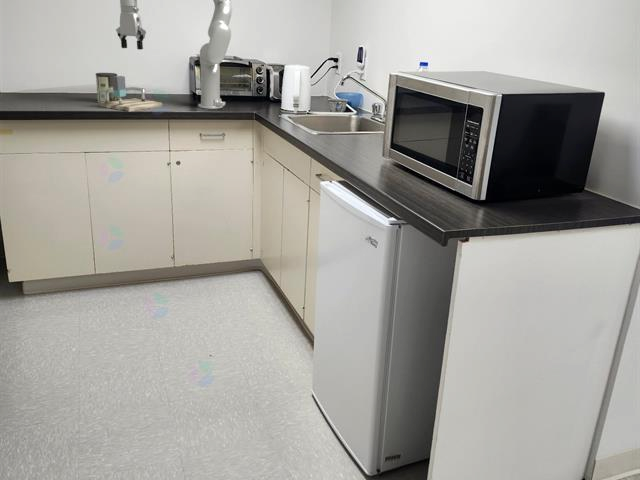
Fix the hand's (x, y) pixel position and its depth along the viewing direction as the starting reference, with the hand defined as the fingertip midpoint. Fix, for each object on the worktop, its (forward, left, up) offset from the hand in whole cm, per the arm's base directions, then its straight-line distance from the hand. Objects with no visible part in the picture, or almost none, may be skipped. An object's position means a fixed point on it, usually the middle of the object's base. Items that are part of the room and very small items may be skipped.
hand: (132, 48), depth 280 cm
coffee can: (+20, -2, -28) cm, 34 cm away
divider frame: (+5, +1, -26) cm, 26 cm away
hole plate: (+2, 0, -28) cm, 28 cm away
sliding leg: (+2, +8, -25) cm, 26 cm away
